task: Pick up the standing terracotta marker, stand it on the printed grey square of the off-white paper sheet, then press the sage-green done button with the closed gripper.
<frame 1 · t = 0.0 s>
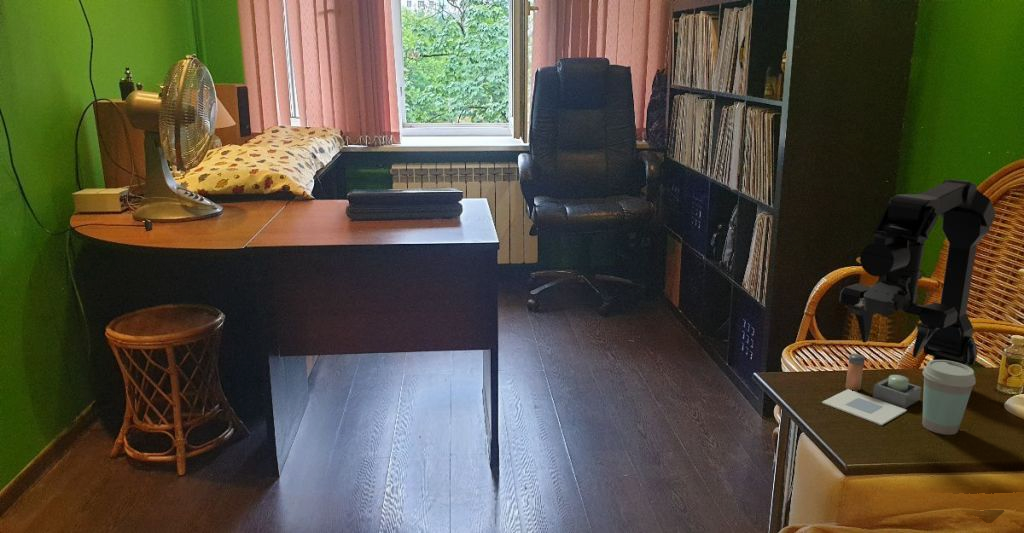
hand: (889, 349, 141), 15 cm above the table, fingers open, 9 cm apart
coffee cup: (939, 428, 143), on the table
button housing: (895, 398, 155), on the table
paper: (863, 407, 151), on the table
marker: (852, 388, 160), on the table
button: (898, 384, 154), point 3 cm above the table, slide at 0.0 cm
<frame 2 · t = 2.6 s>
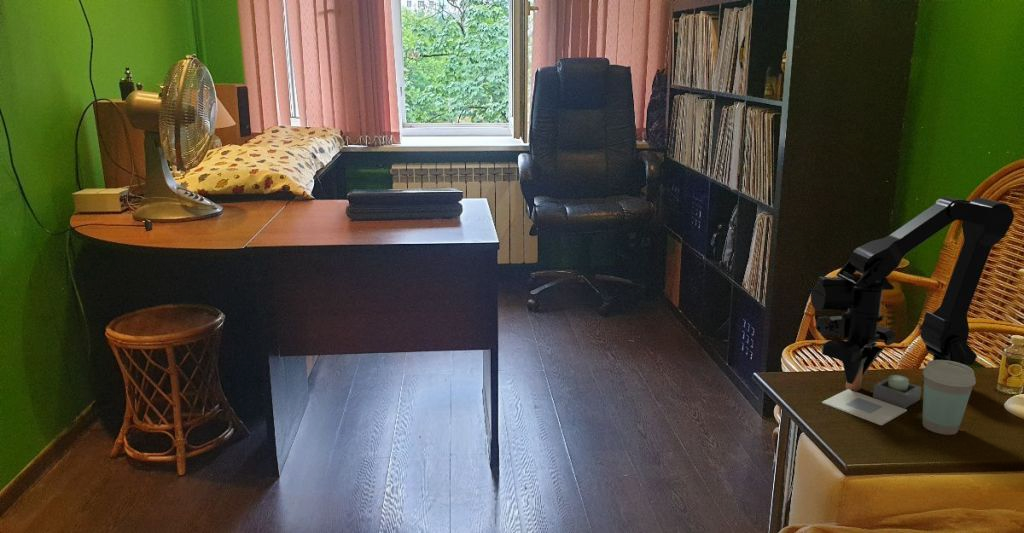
hand: (853, 381, 159), 2 cm above the table, fingers closed on marker, 3 cm apart
marker: (852, 388, 160), on the table, touching gripper
everything else where it was.
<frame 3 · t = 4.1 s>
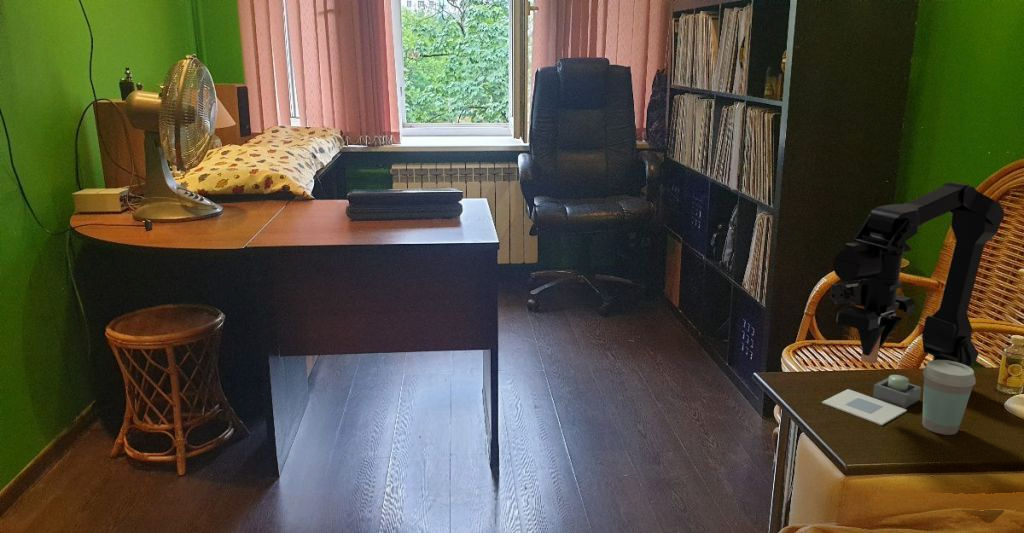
hand: (870, 353, 148), 11 cm above the table, fingers closed on marker, 3 cm apart
marker: (868, 360, 149), point 10 cm above the table, touching gripper
everything else where it was.
when the fingers open (3 cm above the table, at t = 5.9 s): marker stays where it is, resting on paper.
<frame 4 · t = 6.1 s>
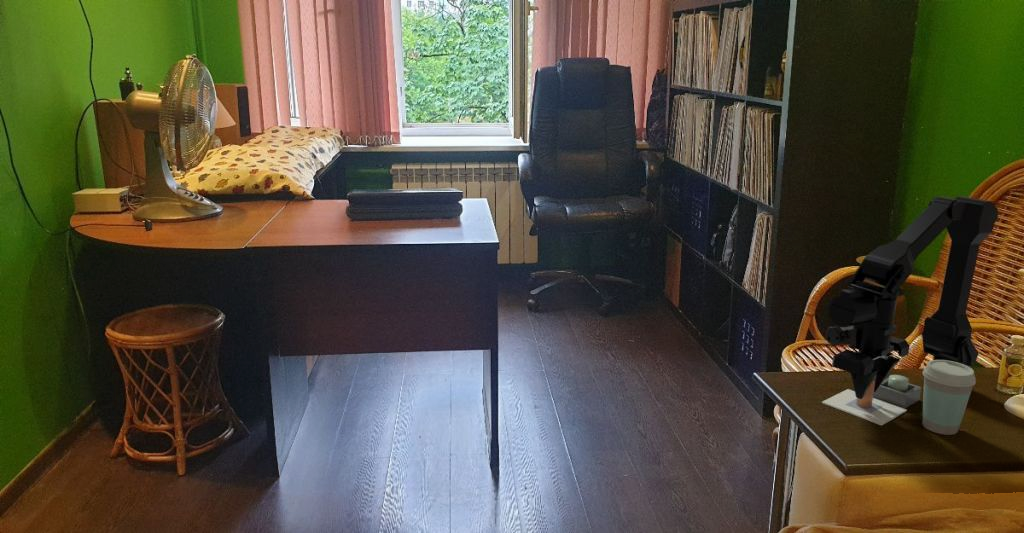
hand: (865, 394, 150), 3 cm above the table, fingers open, 5 cm apart
marker: (863, 405, 151), resting on paper
everything else where it was.
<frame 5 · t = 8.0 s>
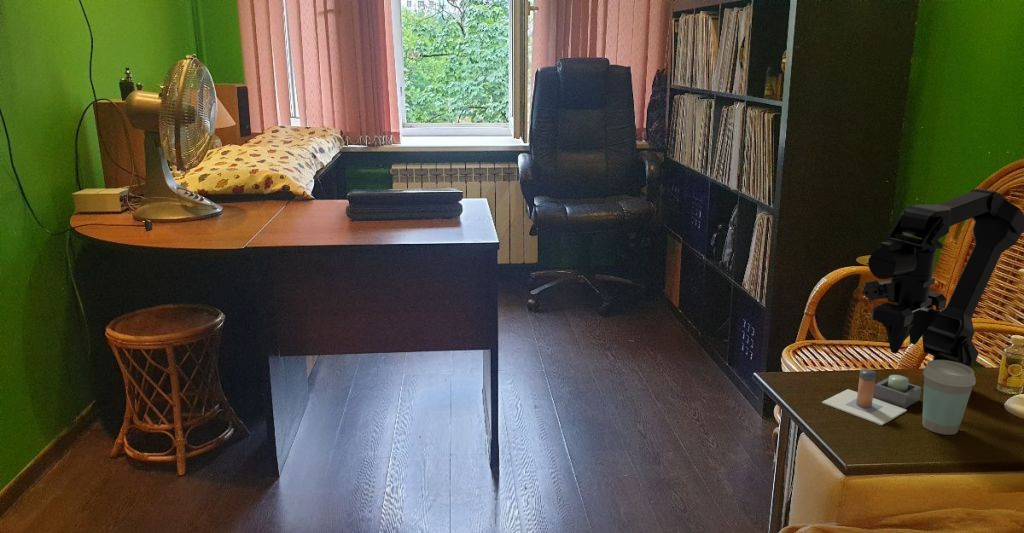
hand: (903, 348, 152), 11 cm above the table, fingers open, 8 cm apart
nothing on the table moved.
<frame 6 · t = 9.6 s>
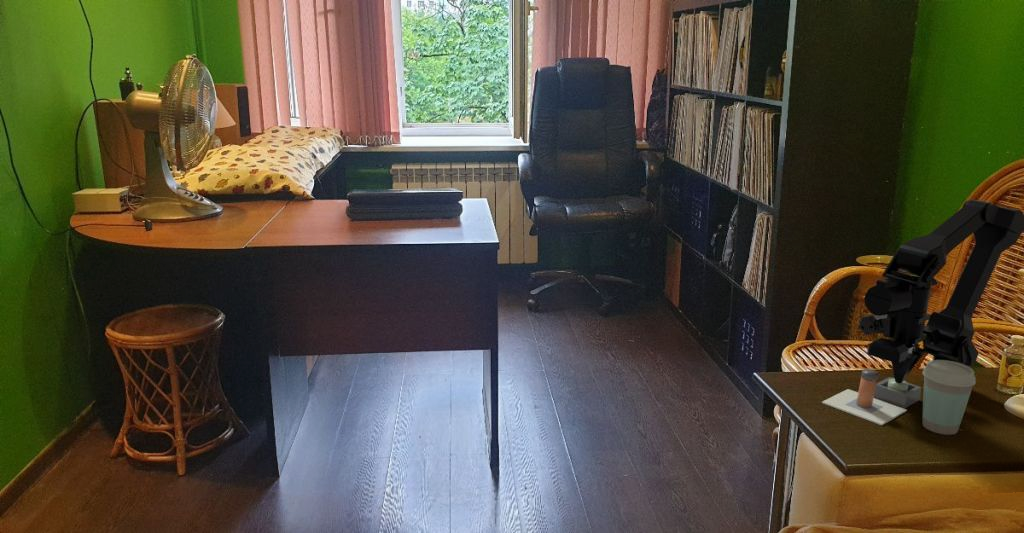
hand: (898, 382, 154), 4 cm above the table, fingers closed, pressing on button
button: (897, 387, 154), point 2 cm above the table, slide at 0.8 cm, touching gripper
everything else where it was.
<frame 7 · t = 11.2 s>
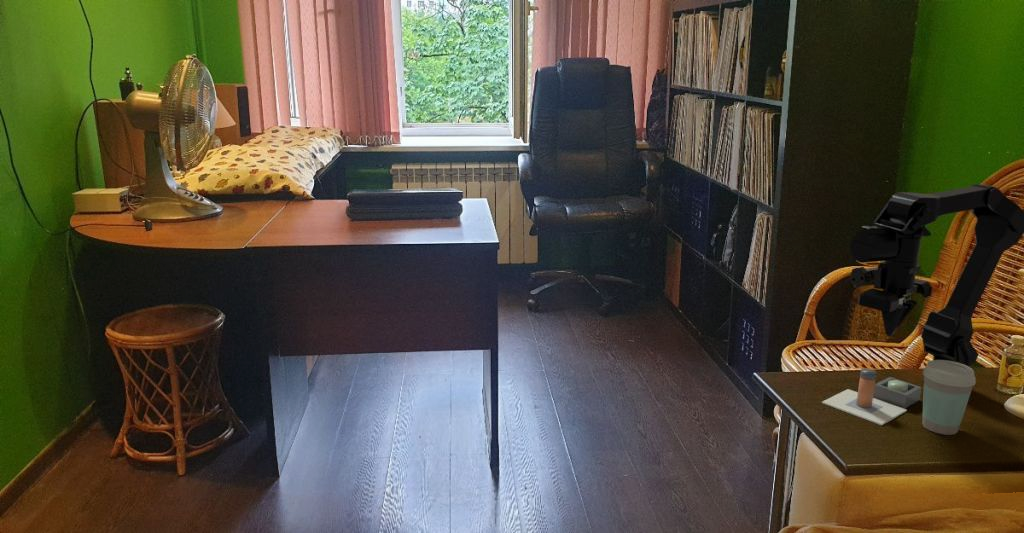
hand: (889, 334, 153), 13 cm above the table, fingers closed
button: (897, 389, 154), point 2 cm above the table, slide at 1.2 cm
everything else where it was.
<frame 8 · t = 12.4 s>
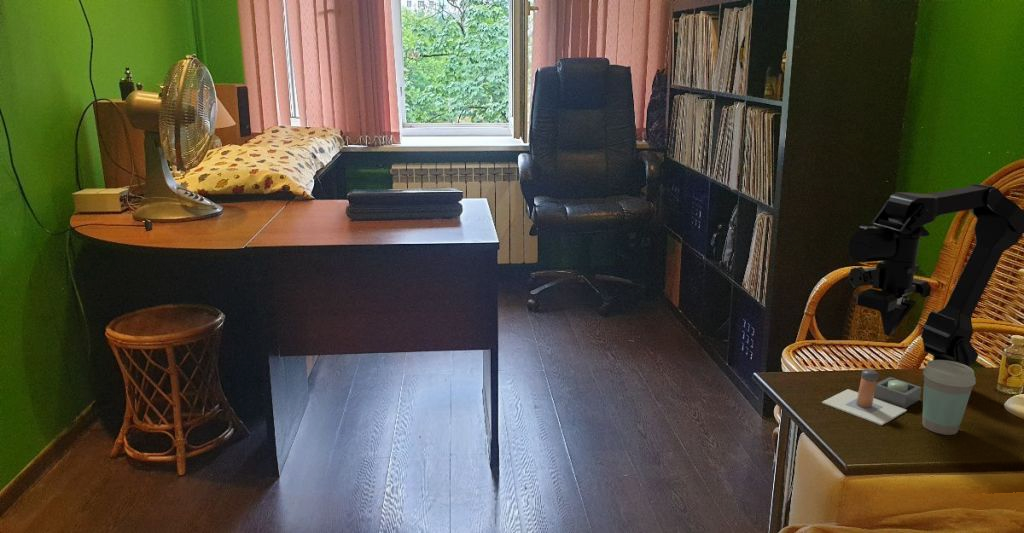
hand: (888, 334, 153), 13 cm above the table, fingers closed
nothing on the table moved.
at the end: marker inside the target area on the paper (0.1 cm from its centre), point 0.4 cm above the paper's base; marker tilted 3°; button slide at 1.2 cm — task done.
